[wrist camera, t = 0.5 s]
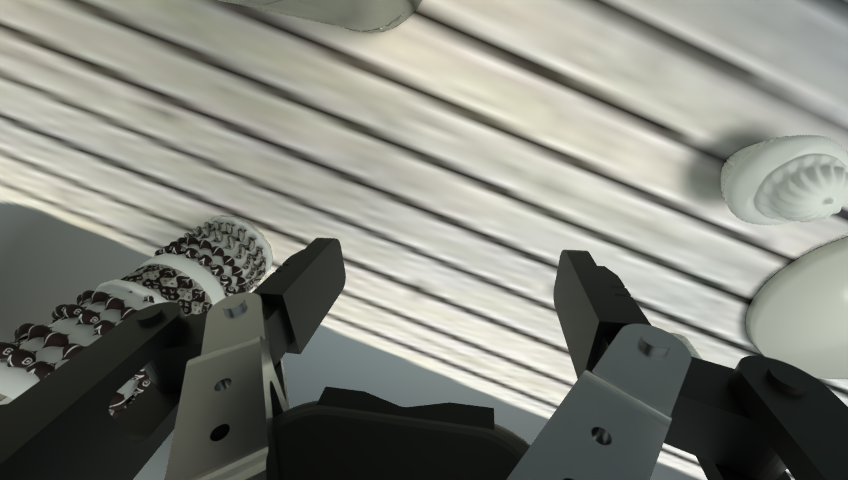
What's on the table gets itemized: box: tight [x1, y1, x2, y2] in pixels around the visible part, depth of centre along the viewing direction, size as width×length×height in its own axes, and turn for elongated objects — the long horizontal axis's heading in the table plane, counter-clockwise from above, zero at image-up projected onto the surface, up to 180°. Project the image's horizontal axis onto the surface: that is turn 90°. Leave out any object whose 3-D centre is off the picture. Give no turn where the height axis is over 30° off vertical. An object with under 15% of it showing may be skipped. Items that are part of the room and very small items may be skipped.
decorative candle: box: [0, 215, 273, 419], centre depth 26 cm, size 9×9×25 cm
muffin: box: [720, 135, 848, 225], centre depth 21 cm, size 6×6×7 cm
